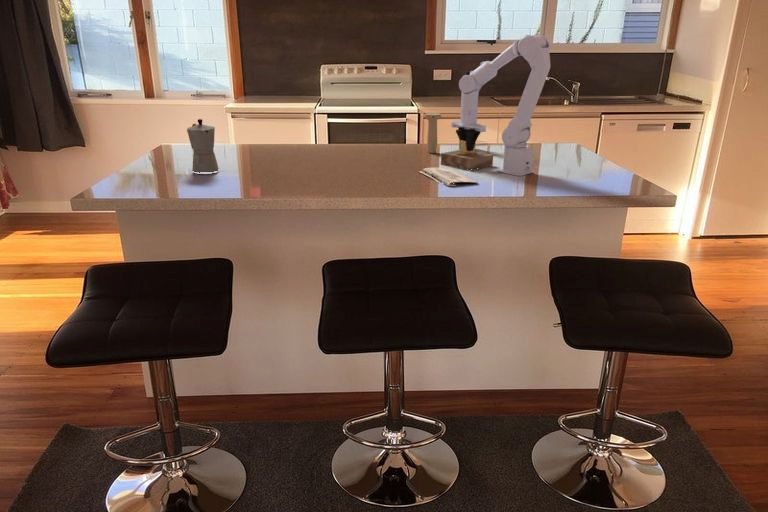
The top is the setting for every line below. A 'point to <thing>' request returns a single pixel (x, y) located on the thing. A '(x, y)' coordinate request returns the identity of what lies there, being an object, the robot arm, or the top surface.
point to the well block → (466, 160)
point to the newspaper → (446, 176)
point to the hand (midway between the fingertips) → (467, 150)
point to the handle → (432, 131)
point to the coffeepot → (203, 147)
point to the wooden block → (465, 148)
